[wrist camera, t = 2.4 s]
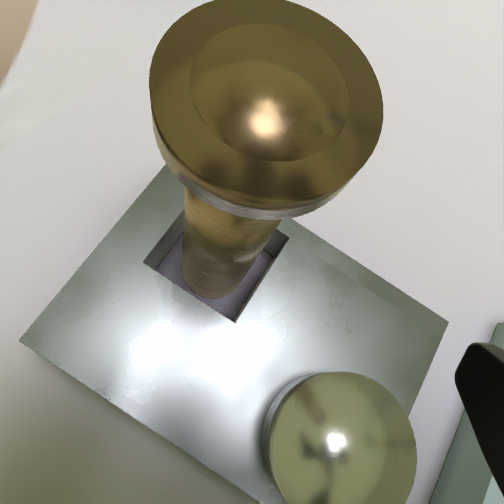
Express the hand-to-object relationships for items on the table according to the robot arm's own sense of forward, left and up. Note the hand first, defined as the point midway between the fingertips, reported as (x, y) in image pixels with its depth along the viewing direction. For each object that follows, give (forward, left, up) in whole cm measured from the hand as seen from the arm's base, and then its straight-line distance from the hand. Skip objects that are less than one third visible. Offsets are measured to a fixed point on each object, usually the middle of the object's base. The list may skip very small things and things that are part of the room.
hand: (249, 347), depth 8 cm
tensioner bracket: (+2, -1, -11) cm, 12 cm away
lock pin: (+4, +2, -11) cm, 12 cm away
